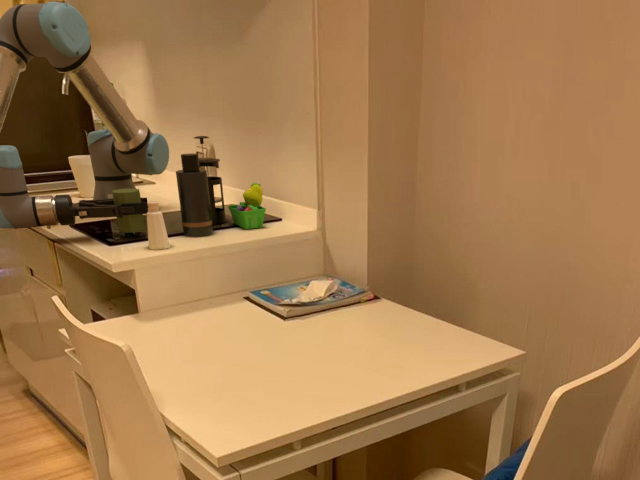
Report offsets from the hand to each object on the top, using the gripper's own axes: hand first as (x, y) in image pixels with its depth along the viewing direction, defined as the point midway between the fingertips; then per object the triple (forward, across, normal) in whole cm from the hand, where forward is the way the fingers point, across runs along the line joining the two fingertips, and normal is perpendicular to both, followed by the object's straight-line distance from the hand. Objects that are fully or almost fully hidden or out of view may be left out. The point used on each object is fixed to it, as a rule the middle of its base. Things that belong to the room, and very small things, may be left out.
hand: (147, 205), depth 184 cm
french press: (+17, -15, -8) cm, 24 cm away
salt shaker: (+2, +15, -8) cm, 17 cm away
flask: (+12, +1, -8) cm, 15 cm away
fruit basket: (+27, -6, -8) cm, 29 cm away
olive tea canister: (-5, 0, -6) cm, 8 cm away
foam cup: (-22, -76, -8) cm, 80 cm away
